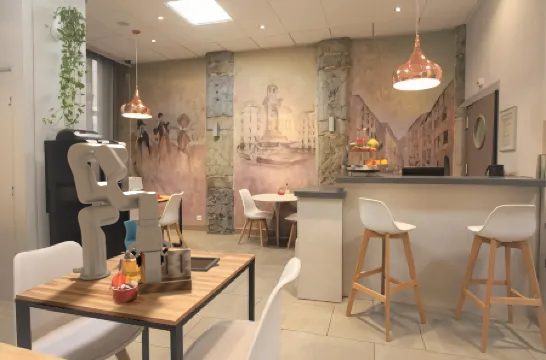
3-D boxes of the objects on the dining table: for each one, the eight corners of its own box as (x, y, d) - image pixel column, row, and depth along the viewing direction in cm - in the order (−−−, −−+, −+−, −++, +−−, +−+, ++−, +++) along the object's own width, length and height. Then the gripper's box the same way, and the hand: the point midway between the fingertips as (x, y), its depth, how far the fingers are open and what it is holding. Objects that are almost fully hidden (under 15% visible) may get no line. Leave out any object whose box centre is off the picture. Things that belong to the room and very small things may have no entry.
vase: (125, 259, 181) (123, 222, 180) (133, 255, 188) (132, 219, 187) (138, 260, 179) (137, 222, 178) (146, 255, 187) (145, 219, 186)
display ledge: (138, 294, 132) (137, 258, 131) (143, 282, 146) (141, 249, 145) (191, 289, 137) (190, 254, 136) (191, 277, 151) (190, 246, 150)
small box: (140, 281, 141) (139, 249, 140) (156, 277, 145) (155, 247, 144) (145, 286, 134) (144, 254, 134) (161, 283, 138) (160, 251, 137)
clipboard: (170, 255, 183) (224, 257, 177) (170, 258, 183) (224, 260, 178) (152, 266, 164) (212, 269, 159) (152, 270, 164) (212, 272, 159)
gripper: (124, 225, 132) (125, 270, 133) (171, 222, 137) (172, 266, 138) (127, 222, 140) (128, 264, 141) (171, 219, 144) (173, 261, 145)
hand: (150, 265), depth 139 cm, fingers closed on small box, 7 cm apart
